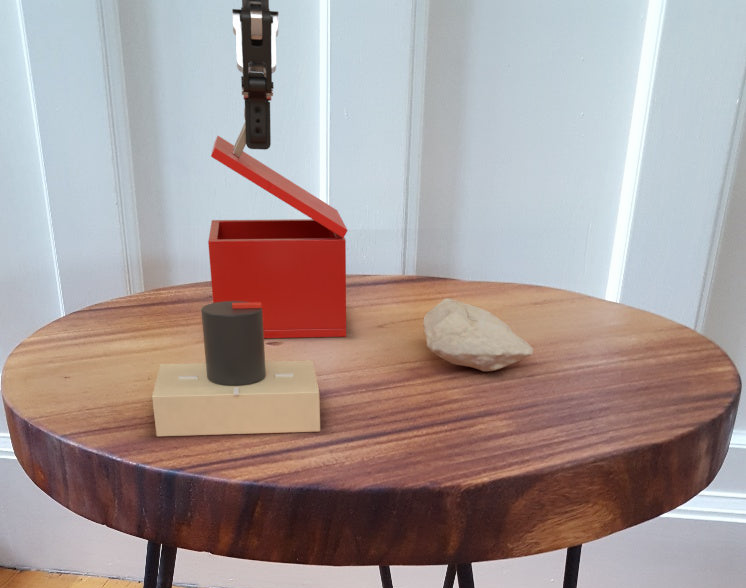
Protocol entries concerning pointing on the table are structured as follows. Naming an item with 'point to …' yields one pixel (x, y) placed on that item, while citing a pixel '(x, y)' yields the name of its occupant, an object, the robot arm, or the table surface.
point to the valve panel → (236, 401)
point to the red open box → (282, 274)
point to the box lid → (276, 183)
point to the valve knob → (234, 342)
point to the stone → (472, 337)
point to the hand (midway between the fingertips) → (257, 144)
